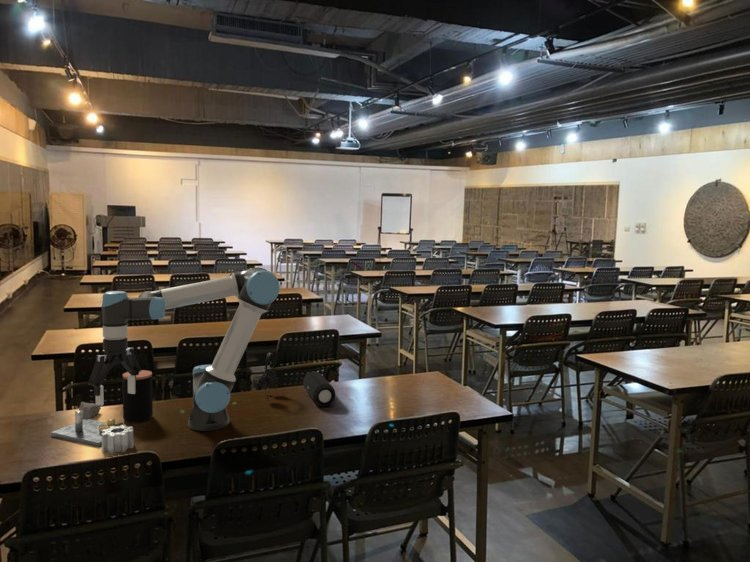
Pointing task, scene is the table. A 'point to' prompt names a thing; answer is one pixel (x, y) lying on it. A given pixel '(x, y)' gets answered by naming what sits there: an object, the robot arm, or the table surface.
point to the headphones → (267, 374)
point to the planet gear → (117, 439)
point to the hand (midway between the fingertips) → (116, 398)
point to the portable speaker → (319, 388)
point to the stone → (89, 410)
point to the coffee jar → (138, 398)
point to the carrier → (85, 430)
